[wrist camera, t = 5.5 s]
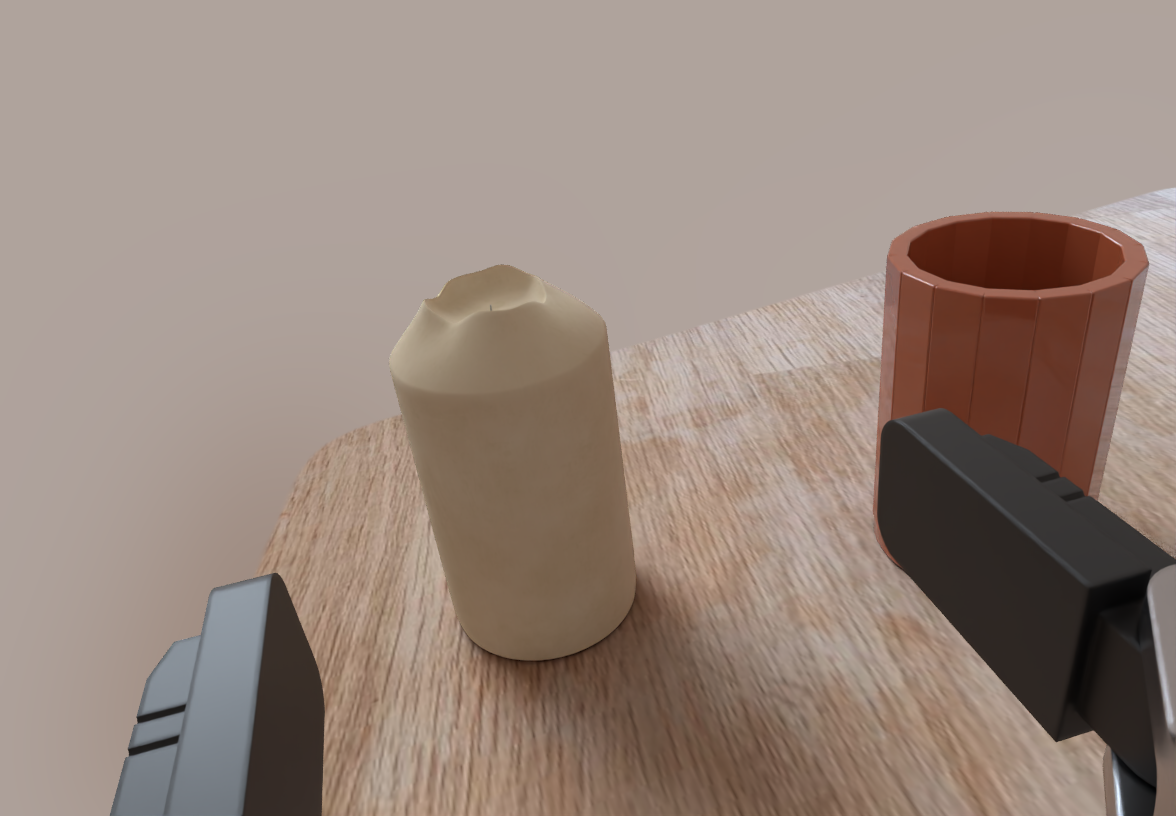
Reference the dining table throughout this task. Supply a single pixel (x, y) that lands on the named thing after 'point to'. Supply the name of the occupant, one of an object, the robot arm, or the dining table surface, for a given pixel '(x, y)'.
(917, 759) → the dining table surface
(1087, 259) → the terracotta cup
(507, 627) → the candle
